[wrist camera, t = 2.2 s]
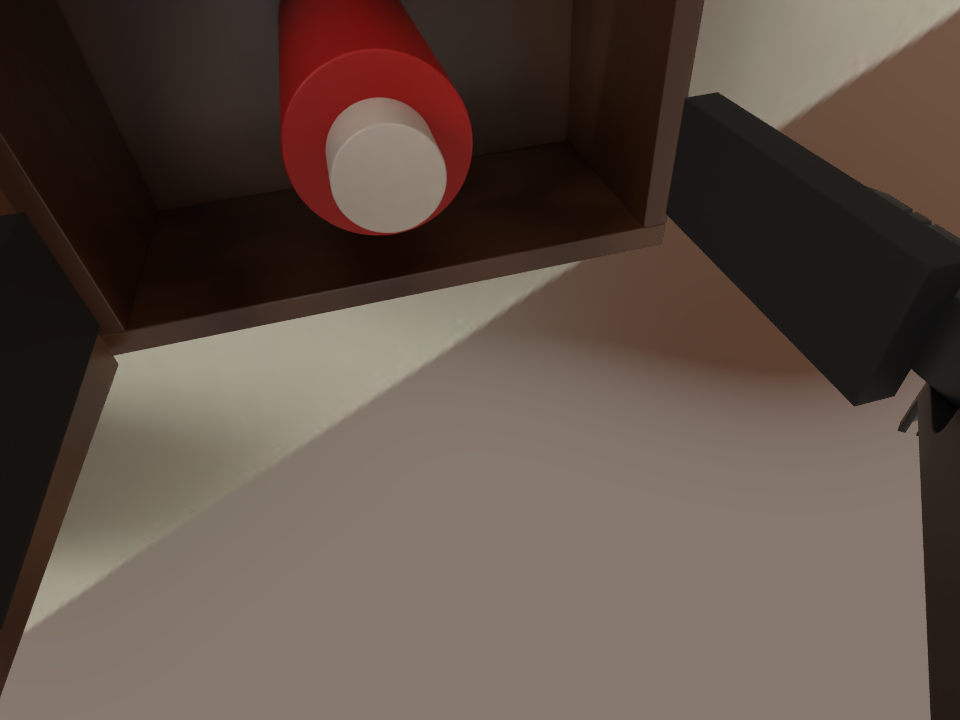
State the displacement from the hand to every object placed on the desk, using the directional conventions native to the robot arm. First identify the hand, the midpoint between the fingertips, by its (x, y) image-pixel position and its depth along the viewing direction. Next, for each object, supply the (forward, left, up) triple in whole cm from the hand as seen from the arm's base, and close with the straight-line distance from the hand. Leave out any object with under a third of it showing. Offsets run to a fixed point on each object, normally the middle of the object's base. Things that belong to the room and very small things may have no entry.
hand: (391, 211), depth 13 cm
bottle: (0, 0, -14) cm, 14 cm away
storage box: (0, 0, -15) cm, 15 cm away
